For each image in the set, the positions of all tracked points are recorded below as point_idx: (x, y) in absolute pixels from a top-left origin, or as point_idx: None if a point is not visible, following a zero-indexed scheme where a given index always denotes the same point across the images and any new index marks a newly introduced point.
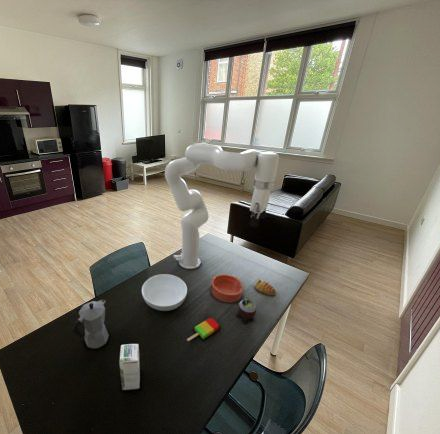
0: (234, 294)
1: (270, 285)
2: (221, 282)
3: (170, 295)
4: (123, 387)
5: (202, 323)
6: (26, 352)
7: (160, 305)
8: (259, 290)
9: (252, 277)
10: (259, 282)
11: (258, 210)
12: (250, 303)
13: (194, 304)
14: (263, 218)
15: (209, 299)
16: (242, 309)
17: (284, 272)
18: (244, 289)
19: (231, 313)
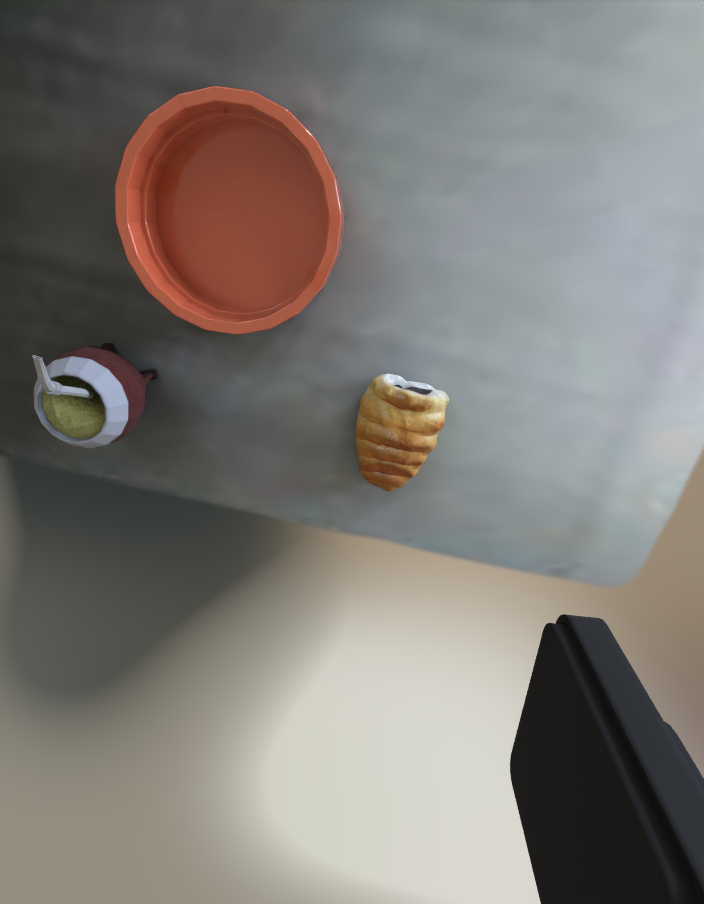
0: (158, 298)
1: (410, 464)
2: (305, 156)
3: None
4: None
5: None
6: None
7: None
8: (359, 407)
9: (484, 338)
10: (396, 405)
11: (665, 886)
12: (91, 419)
13: (8, 64)
14: (511, 777)
15: (113, 142)
16: (35, 385)
17: (630, 504)
18: (50, 390)
19: (101, 308)
